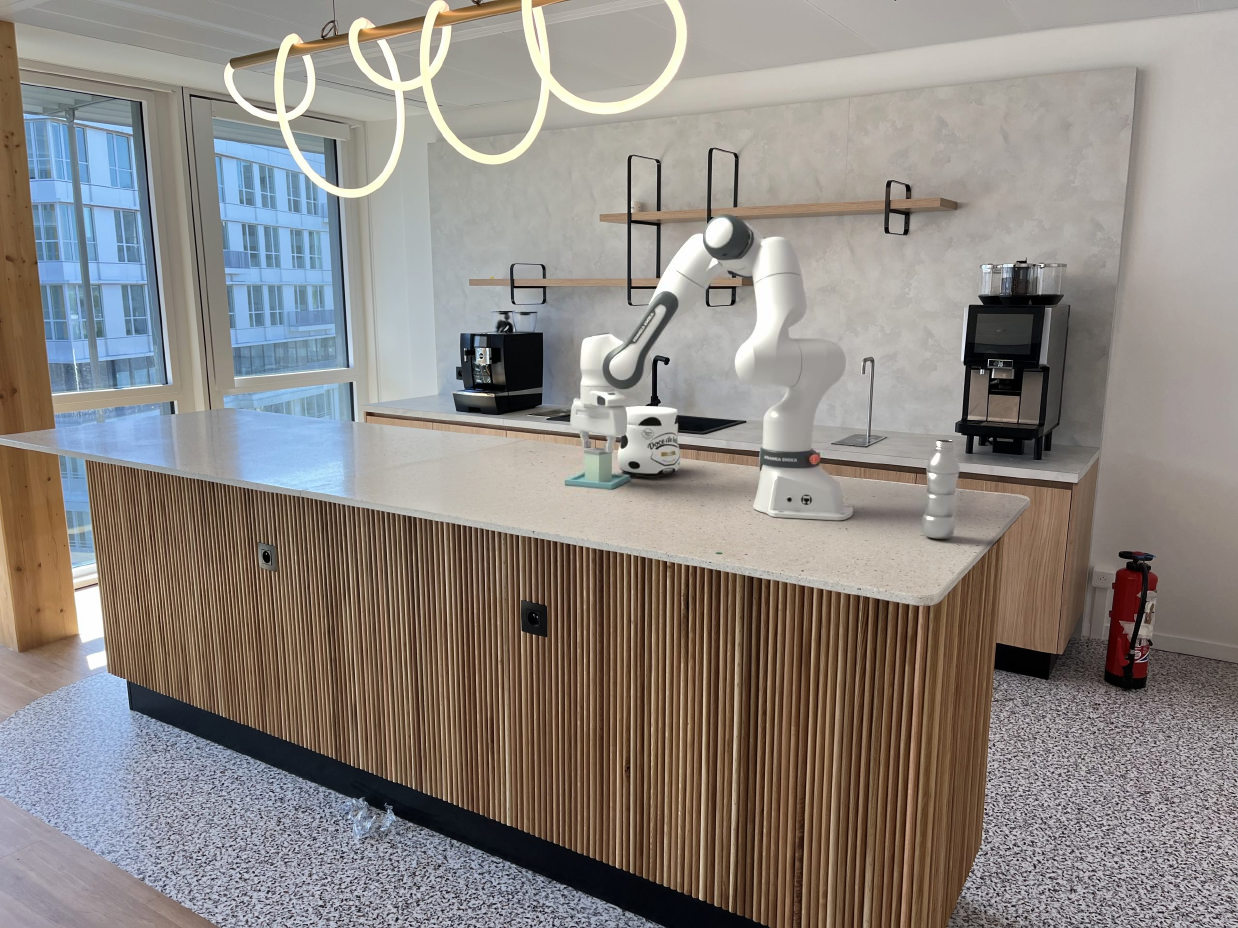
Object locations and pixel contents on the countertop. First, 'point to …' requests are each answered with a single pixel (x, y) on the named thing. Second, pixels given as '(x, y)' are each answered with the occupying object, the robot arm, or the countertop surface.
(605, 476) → the tea tin
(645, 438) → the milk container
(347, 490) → the countertop surface
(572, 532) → the countertop surface
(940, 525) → the plastic bottle
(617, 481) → the tray
